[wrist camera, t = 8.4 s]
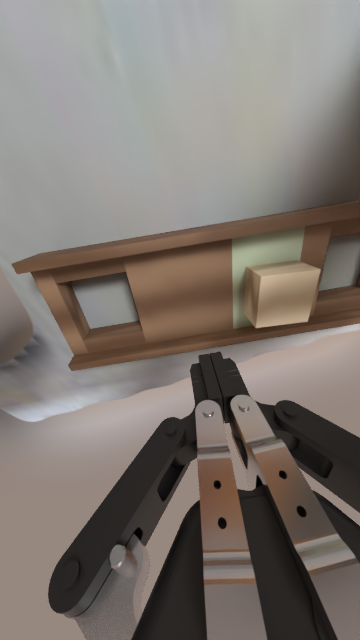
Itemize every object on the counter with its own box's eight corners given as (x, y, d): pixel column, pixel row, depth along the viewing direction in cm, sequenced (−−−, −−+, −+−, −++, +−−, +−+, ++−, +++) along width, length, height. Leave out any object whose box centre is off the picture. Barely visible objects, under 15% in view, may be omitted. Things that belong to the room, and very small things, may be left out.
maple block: (246, 266, 23) (261, 276, 20) (297, 260, 23) (320, 269, 20) (243, 312, 26) (255, 328, 23) (288, 306, 26) (307, 321, 23)
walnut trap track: (39, 253, 24) (11, 263, 19) (392, 194, 23) (445, 191, 19) (84, 347, 30) (71, 371, 26) (357, 302, 30) (390, 318, 26)
